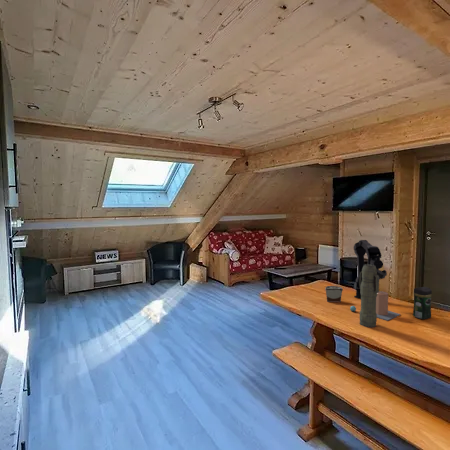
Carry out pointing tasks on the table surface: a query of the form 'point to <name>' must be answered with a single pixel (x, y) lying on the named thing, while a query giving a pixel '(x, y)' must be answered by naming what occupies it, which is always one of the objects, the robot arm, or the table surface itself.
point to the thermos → (368, 295)
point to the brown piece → (382, 303)
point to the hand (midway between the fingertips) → (371, 288)
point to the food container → (333, 293)
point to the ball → (353, 308)
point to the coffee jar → (422, 303)
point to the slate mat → (388, 316)
